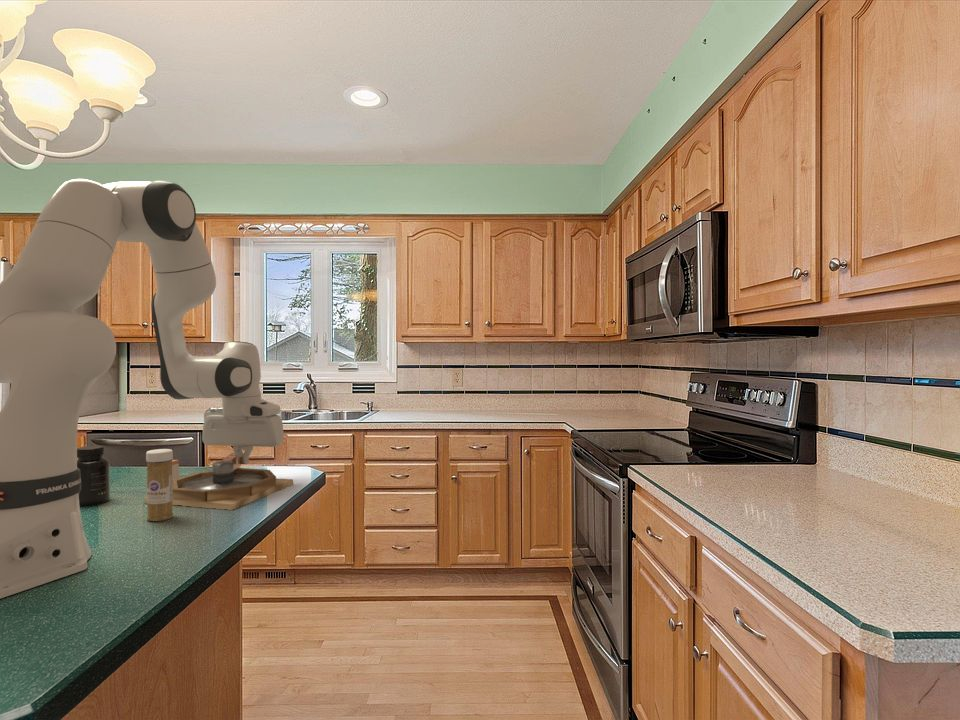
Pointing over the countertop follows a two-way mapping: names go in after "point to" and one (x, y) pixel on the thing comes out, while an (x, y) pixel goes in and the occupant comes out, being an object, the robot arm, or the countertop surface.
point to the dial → (223, 476)
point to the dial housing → (226, 491)
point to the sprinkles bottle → (159, 484)
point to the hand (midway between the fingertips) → (243, 463)
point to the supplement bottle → (93, 475)
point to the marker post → (175, 469)
